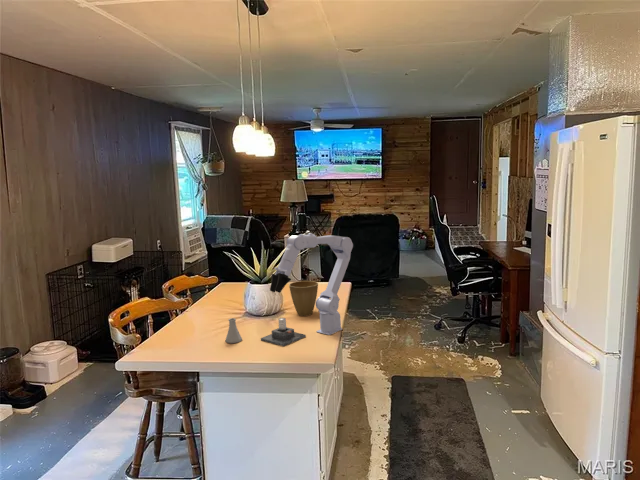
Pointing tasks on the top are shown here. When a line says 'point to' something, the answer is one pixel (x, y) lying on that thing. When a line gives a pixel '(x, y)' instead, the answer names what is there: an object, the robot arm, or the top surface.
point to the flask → (233, 332)
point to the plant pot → (304, 296)
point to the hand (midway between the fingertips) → (274, 291)
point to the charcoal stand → (283, 337)
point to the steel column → (282, 324)
